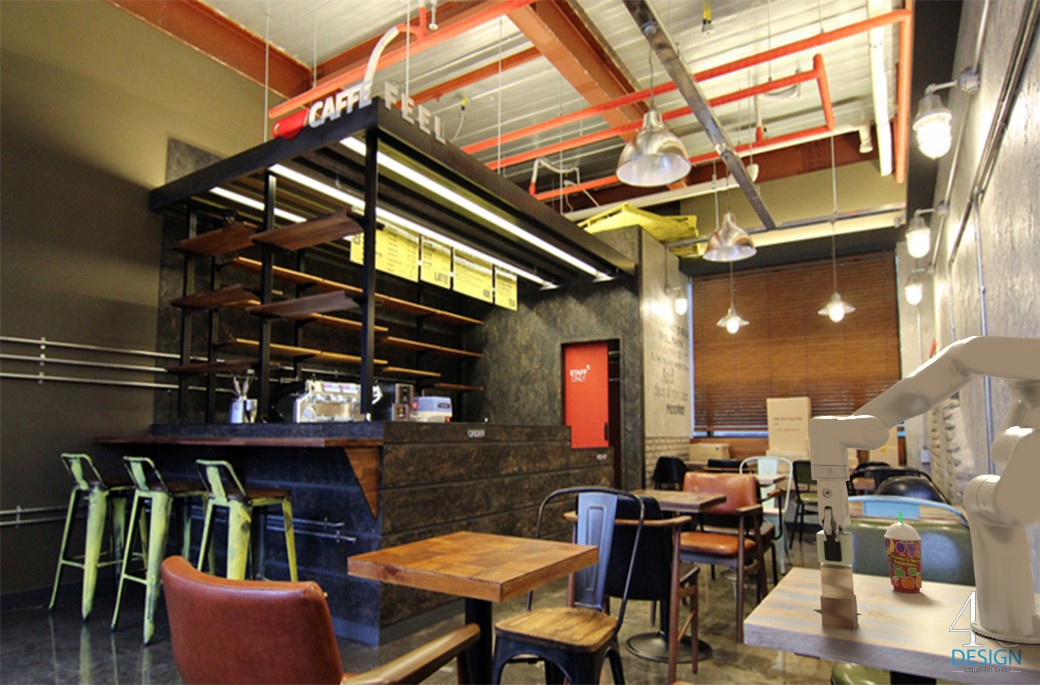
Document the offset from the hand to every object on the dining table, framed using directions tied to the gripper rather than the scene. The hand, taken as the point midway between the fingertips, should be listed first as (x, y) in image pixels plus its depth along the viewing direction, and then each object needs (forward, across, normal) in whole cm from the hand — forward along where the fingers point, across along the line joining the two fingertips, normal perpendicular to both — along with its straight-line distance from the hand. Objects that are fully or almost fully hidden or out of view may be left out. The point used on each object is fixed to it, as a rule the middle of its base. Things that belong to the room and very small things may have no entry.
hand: (836, 557), depth 137 cm
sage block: (+1, 0, 0) cm, 1 cm away
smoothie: (+14, +43, -9) cm, 46 cm away
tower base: (+14, 0, 0) cm, 14 cm away
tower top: (+8, 0, 0) cm, 8 cm away
